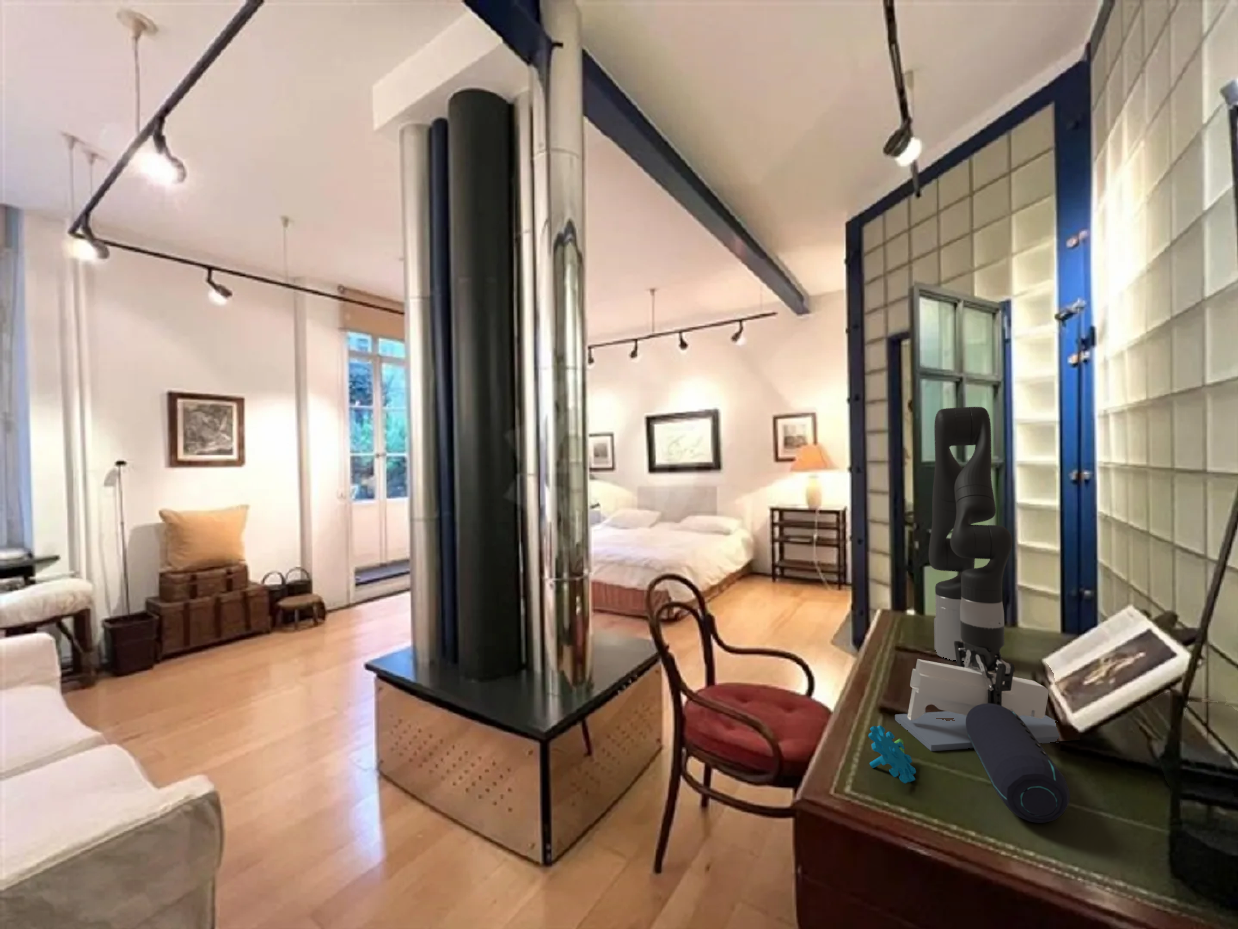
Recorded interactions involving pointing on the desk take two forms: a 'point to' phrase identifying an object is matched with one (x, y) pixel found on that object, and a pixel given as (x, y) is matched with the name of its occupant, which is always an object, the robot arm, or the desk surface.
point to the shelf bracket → (969, 691)
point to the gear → (891, 754)
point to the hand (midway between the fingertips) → (982, 700)
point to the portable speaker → (1017, 764)
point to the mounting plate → (964, 729)
